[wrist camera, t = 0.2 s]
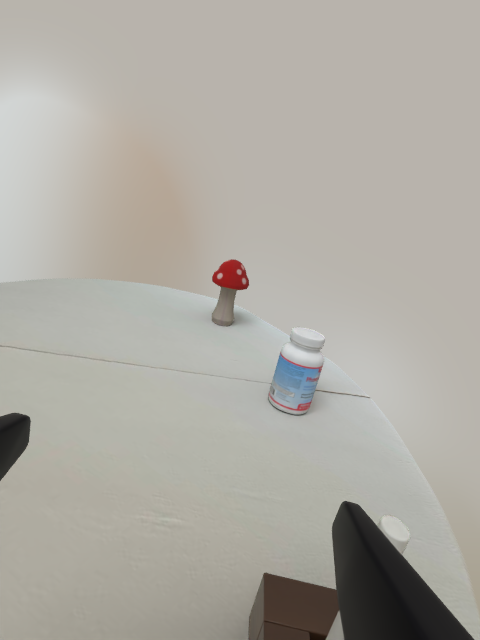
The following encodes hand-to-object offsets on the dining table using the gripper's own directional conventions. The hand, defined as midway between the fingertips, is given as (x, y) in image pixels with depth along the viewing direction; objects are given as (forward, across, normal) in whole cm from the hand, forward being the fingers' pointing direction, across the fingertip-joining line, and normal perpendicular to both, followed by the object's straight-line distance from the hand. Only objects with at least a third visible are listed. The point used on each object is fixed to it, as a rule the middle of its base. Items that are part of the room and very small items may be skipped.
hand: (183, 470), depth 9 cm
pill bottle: (+35, -10, +16) cm, 40 cm away
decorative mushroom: (+66, +4, +15) cm, 68 cm away
